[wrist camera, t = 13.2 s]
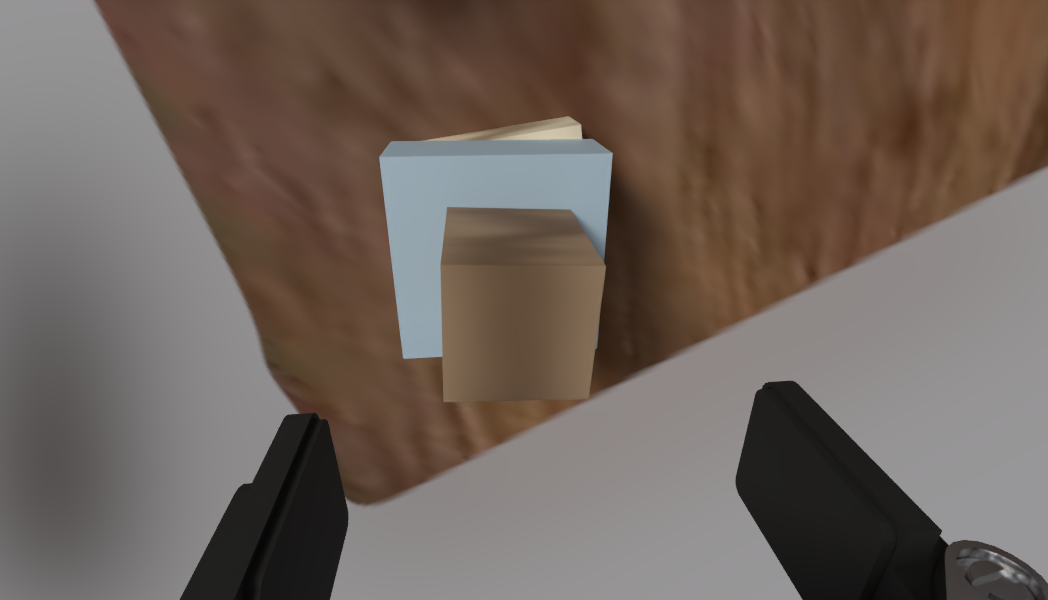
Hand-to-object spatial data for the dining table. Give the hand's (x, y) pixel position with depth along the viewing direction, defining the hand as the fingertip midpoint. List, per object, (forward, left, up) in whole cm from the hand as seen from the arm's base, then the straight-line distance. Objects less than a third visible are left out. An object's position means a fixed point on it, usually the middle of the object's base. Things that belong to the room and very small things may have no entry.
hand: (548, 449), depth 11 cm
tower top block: (0, 0, -15) cm, 15 cm away
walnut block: (0, 0, -12) cm, 12 cm away
